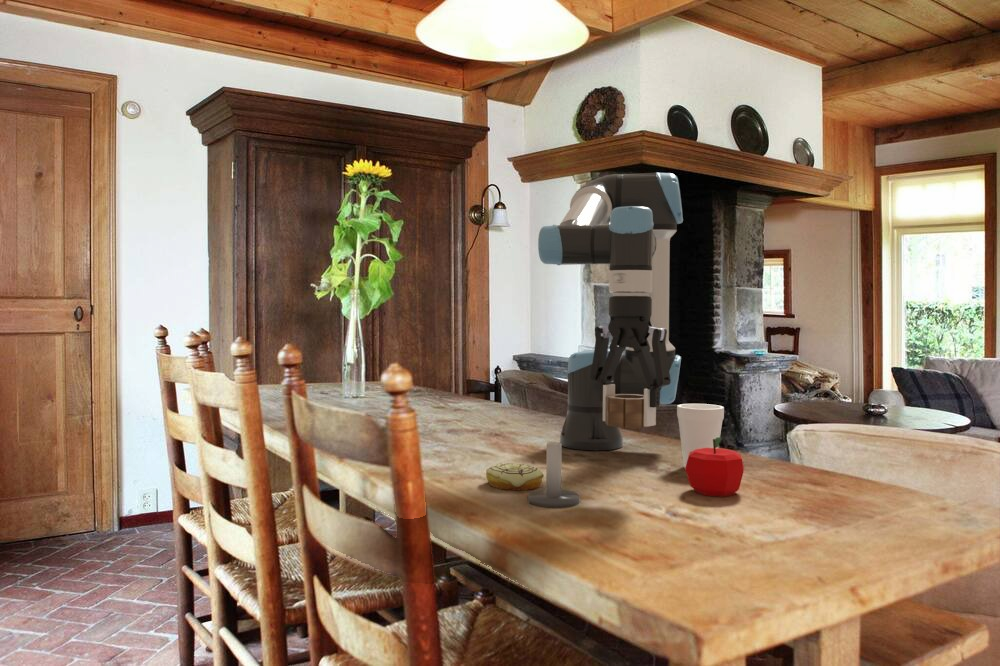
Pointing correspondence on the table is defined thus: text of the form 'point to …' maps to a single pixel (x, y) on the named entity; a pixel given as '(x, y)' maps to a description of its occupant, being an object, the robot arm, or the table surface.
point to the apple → (714, 470)
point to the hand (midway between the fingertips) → (628, 422)
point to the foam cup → (698, 426)
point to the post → (553, 483)
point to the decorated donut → (514, 476)
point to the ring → (625, 410)
